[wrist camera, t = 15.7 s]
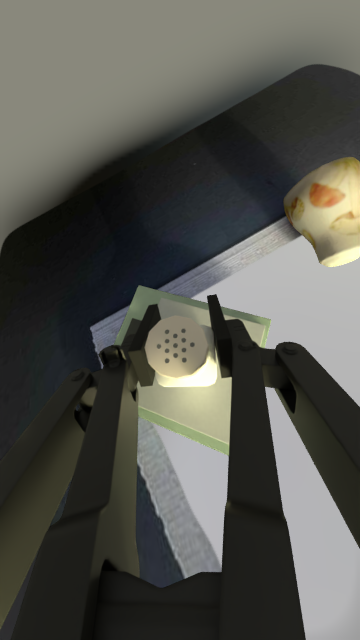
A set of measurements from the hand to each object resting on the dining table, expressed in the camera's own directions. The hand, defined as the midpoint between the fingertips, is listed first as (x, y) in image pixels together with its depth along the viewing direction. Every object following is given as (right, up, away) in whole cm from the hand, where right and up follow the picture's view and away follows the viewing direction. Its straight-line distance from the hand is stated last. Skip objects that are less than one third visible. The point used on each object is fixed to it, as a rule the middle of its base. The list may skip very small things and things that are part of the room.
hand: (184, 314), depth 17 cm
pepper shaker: (+1, -5, +2) cm, 5 cm away
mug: (+16, +9, +7) cm, 20 cm away
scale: (0, -5, +5) cm, 7 cm away
